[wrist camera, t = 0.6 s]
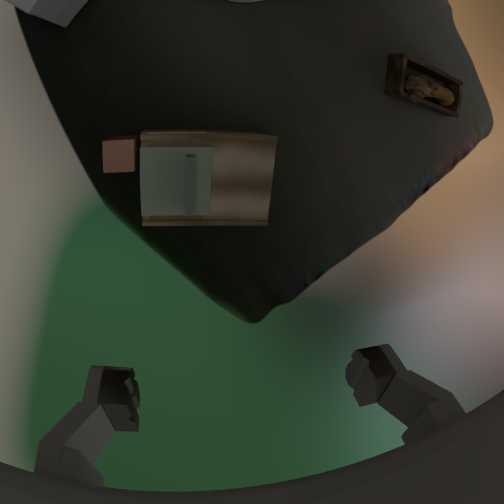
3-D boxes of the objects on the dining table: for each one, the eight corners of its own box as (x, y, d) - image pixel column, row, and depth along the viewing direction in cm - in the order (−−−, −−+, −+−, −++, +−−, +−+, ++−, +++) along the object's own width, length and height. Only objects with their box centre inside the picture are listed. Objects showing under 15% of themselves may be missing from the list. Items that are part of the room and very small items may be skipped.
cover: (140, 146, 37) (136, 150, 35) (212, 146, 40) (214, 150, 37) (142, 213, 42) (139, 222, 39) (209, 213, 44) (210, 221, 42)
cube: (111, 136, 39) (102, 141, 35) (140, 134, 40) (133, 139, 36) (112, 164, 41) (103, 172, 37) (140, 163, 42) (134, 171, 38)
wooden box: (144, 129, 40) (140, 132, 36) (271, 133, 44) (278, 136, 40) (146, 217, 46) (142, 227, 43) (262, 217, 50) (267, 227, 47)
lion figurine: (386, 98, 43) (419, 103, 35) (385, 70, 40) (418, 70, 33) (442, 106, 45) (474, 113, 37) (442, 81, 42) (475, 85, 35)
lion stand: (388, 54, 39) (403, 53, 35) (447, 80, 42) (462, 82, 38) (384, 93, 43) (399, 95, 39) (443, 114, 46) (458, 118, 42)
